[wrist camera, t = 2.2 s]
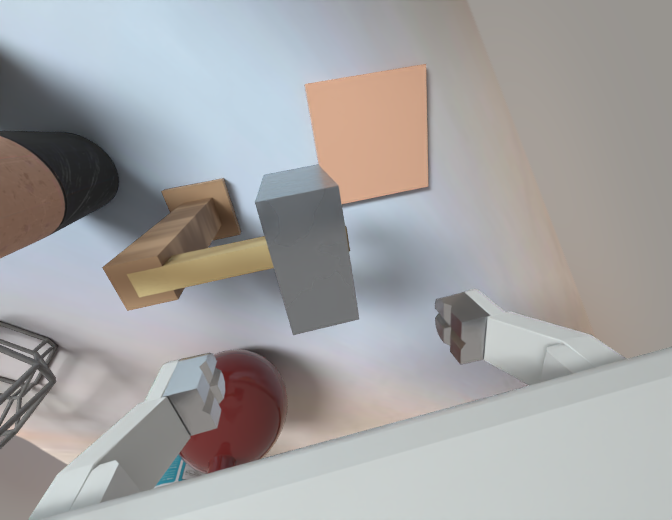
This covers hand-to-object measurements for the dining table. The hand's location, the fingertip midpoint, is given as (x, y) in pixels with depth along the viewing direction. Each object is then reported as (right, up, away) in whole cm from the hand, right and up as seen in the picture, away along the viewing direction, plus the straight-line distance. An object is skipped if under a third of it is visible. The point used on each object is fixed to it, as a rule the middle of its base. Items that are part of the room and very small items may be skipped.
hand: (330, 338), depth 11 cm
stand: (-9, +9, +21) cm, 25 cm away
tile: (+4, +16, +21) cm, 26 cm away
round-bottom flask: (-13, -12, +31) cm, 35 cm away
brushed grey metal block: (-2, +6, +12) cm, 14 cm away
